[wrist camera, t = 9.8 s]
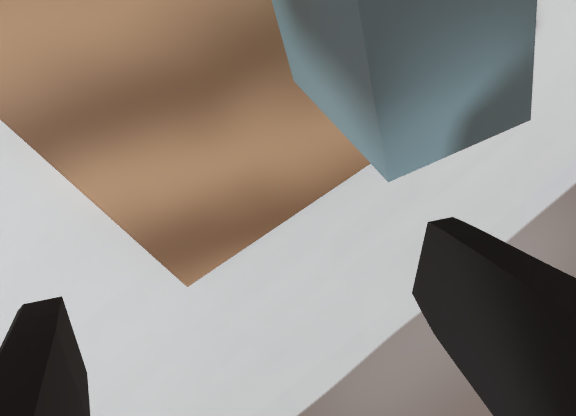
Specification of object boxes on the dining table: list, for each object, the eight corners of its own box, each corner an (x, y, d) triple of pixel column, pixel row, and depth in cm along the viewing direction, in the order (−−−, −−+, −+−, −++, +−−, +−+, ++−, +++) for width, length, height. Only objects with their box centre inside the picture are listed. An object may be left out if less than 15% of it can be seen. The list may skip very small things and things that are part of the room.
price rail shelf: (-167, -55, 13) (-221, -35, 11) (334, -431, 12) (394, -498, 10) (182, 268, 22) (194, 317, 20) (476, 70, 22) (524, 96, 19)
